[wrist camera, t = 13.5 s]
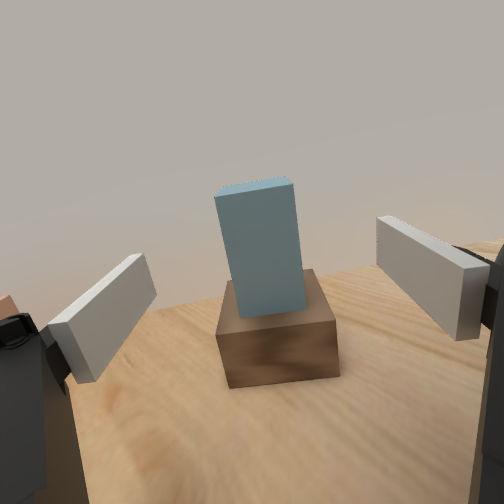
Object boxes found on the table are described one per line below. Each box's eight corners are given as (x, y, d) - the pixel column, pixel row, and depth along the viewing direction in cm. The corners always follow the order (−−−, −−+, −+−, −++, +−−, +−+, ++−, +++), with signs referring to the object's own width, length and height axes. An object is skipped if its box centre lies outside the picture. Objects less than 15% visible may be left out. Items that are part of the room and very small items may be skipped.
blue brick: (297, 279, 30) (285, 176, 26) (307, 309, 24) (293, 183, 20) (243, 286, 30) (223, 186, 26) (240, 318, 24) (214, 197, 21)
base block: (316, 312, 33) (312, 268, 31) (339, 376, 24) (335, 319, 22) (237, 322, 34) (227, 280, 32) (229, 388, 25) (215, 335, 23)
